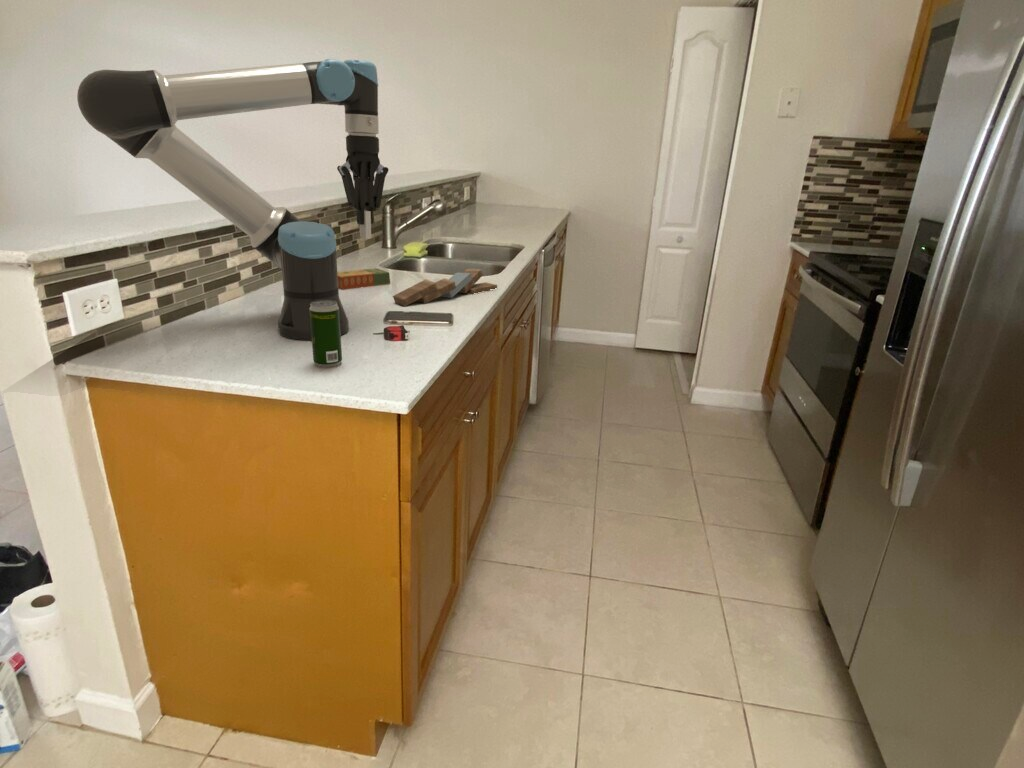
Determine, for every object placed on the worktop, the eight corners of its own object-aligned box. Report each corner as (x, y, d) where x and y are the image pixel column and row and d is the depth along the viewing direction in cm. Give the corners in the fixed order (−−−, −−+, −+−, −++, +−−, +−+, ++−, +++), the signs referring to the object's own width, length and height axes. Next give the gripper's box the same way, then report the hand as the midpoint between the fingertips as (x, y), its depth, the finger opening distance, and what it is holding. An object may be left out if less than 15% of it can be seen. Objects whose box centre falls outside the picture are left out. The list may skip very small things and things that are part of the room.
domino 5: (471, 289, 181) (497, 284, 189) (459, 287, 184) (485, 282, 192) (471, 296, 182) (497, 291, 190) (459, 293, 185) (485, 288, 193)
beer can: (347, 364, 121) (344, 303, 117) (323, 370, 118) (318, 308, 113) (332, 357, 125) (328, 298, 120) (308, 363, 121) (303, 302, 117)
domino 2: (423, 297, 168) (454, 281, 174) (412, 293, 172) (444, 278, 177) (424, 303, 169) (456, 288, 175) (414, 300, 173) (445, 284, 178)
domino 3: (449, 291, 174) (470, 273, 181) (435, 290, 176) (456, 272, 184) (451, 297, 175) (472, 279, 182) (437, 296, 178) (458, 278, 185)
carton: (329, 286, 187) (328, 271, 185) (377, 280, 197) (376, 267, 195) (342, 291, 181) (341, 276, 179) (390, 285, 191) (390, 271, 189)
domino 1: (402, 299, 164) (435, 282, 170) (392, 295, 168) (425, 279, 173) (404, 306, 165) (437, 289, 171) (395, 302, 169) (427, 285, 174)
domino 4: (464, 286, 179) (481, 269, 187) (449, 286, 181) (467, 268, 189) (465, 293, 180) (482, 275, 188) (451, 292, 183) (468, 274, 190)
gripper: (346, 133, 138) (350, 241, 147) (395, 136, 147) (396, 238, 155) (328, 133, 143) (333, 237, 151) (376, 136, 152) (379, 234, 160)
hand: (365, 237), depth 153 cm, fingers closed
